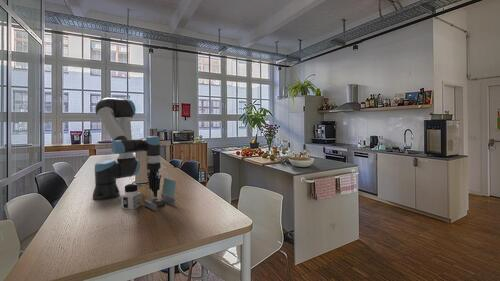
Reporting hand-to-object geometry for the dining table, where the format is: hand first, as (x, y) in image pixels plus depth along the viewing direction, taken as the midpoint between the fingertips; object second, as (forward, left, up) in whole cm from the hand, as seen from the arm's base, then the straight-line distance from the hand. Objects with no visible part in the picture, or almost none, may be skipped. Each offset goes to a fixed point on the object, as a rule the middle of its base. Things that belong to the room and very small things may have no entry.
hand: (154, 201), depth 145 cm
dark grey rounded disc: (+4, 0, -1) cm, 4 cm away
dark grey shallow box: (+6, 0, -1) cm, 6 cm away
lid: (+6, +6, +8) cm, 11 cm away
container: (-4, -12, -2) cm, 13 cm away
